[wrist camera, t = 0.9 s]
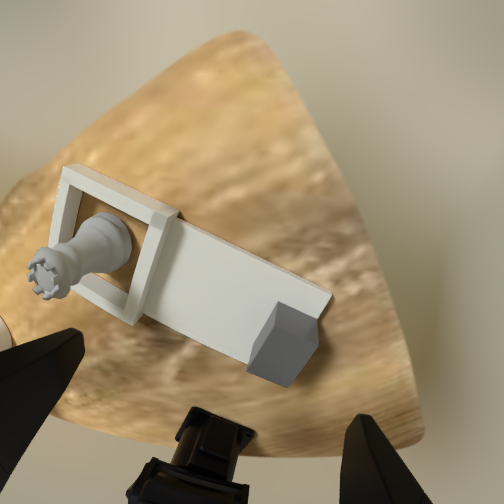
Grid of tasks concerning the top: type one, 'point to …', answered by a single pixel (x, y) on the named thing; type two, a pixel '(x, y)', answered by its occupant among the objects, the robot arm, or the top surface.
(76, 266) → the rook chess piece
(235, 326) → the grey board with frame
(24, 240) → the top surface
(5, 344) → the cosmetic bottle
